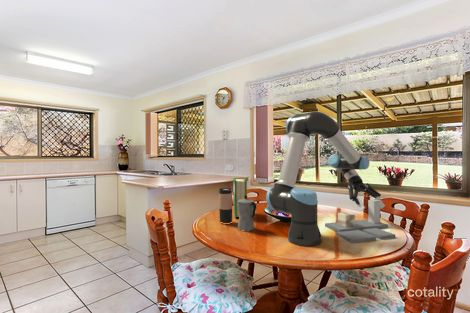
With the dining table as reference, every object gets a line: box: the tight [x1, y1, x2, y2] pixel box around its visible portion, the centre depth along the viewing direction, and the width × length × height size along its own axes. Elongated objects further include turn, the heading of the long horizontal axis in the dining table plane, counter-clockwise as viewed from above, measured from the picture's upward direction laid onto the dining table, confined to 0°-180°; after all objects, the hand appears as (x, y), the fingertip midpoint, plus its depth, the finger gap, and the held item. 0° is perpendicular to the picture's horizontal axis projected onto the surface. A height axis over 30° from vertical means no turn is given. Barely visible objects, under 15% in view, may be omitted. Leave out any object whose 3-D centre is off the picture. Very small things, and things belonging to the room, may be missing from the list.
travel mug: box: [218, 187, 233, 223], centre depth 146 cm, size 8×8×20 cm
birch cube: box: [337, 211, 356, 227], centre depth 132 cm, size 6×6×6 cm
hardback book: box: [232, 177, 248, 218], centre depth 164 cm, size 18×7×24 cm, turn 3°
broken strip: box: [335, 228, 396, 244], centre depth 119 cm, size 24×11×2 cm, turn 105°
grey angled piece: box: [324, 199, 389, 232], centre depth 134 cm, size 30×12×14 cm, turn 105°
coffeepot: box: [237, 195, 257, 232], centre depth 133 cm, size 15×9×18 cm, turn 33°
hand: (373, 208), depth 138 cm, fingers open, 13 cm apart
